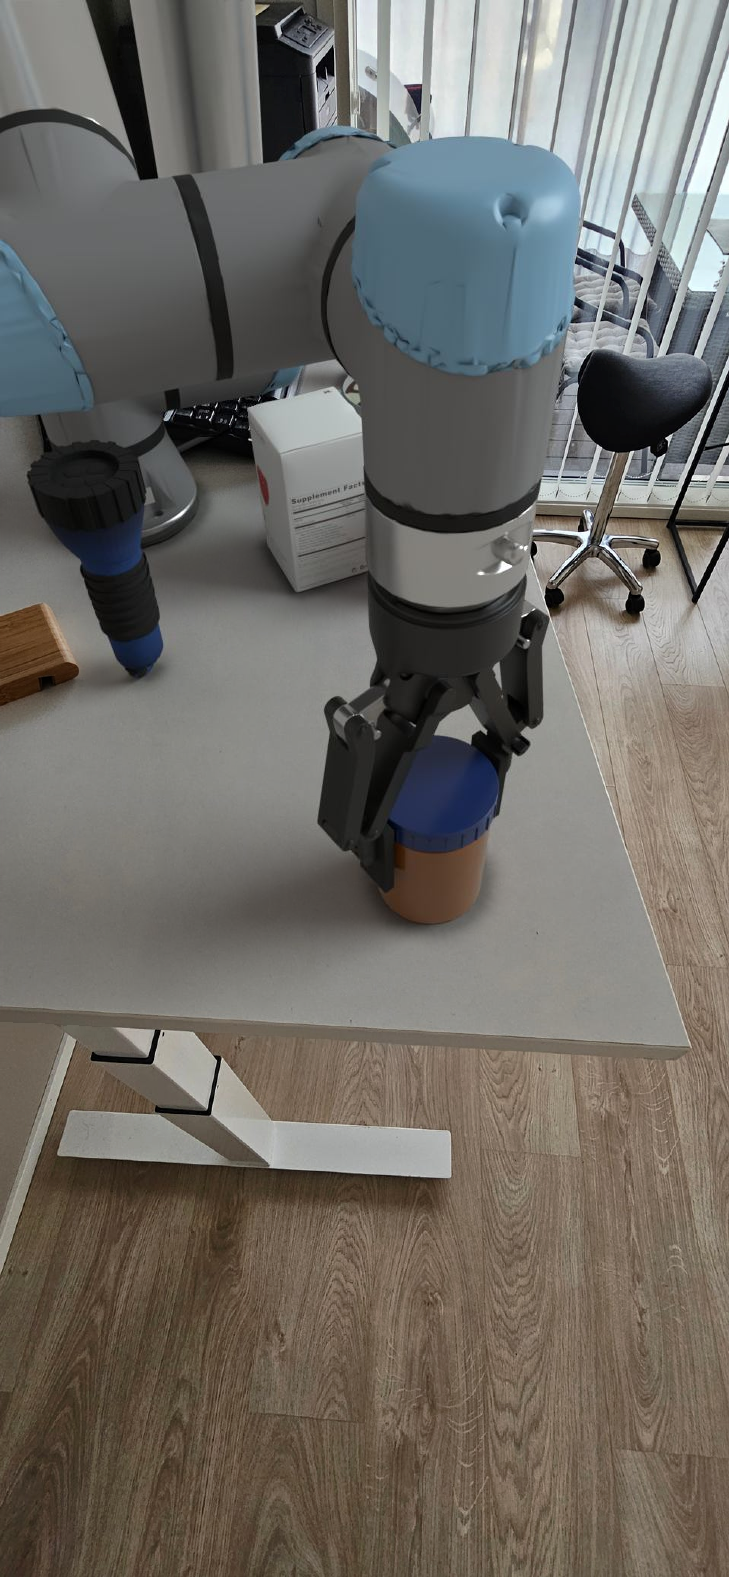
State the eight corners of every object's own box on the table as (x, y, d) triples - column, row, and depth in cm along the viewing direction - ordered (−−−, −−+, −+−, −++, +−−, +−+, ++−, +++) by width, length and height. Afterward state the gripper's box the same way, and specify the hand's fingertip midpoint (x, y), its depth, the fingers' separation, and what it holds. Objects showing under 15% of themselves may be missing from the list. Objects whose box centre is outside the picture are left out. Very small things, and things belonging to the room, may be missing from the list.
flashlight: (197, 638, 77) (145, 436, 61) (187, 699, 72) (129, 495, 56) (112, 641, 77) (39, 440, 61) (97, 702, 72) (13, 500, 56)
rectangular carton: (264, 545, 85) (243, 404, 73) (343, 523, 87) (335, 383, 75) (294, 595, 80) (276, 452, 68) (377, 570, 82) (374, 428, 70)
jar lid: (485, 864, 49) (488, 847, 48) (356, 839, 50) (355, 821, 49) (505, 764, 54) (508, 745, 52) (386, 744, 55) (386, 725, 54)
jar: (380, 833, 62) (377, 742, 54) (480, 837, 62) (493, 746, 53) (374, 921, 58) (370, 836, 49) (481, 926, 57) (496, 842, 49)
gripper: (304, 719, 32) (337, 969, 50) (663, 515, 40) (581, 795, 58) (207, 623, 36) (270, 887, 54) (552, 453, 44) (507, 734, 61)
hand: (431, 839), depth 56 cm, fingers open, 9 cm apart
